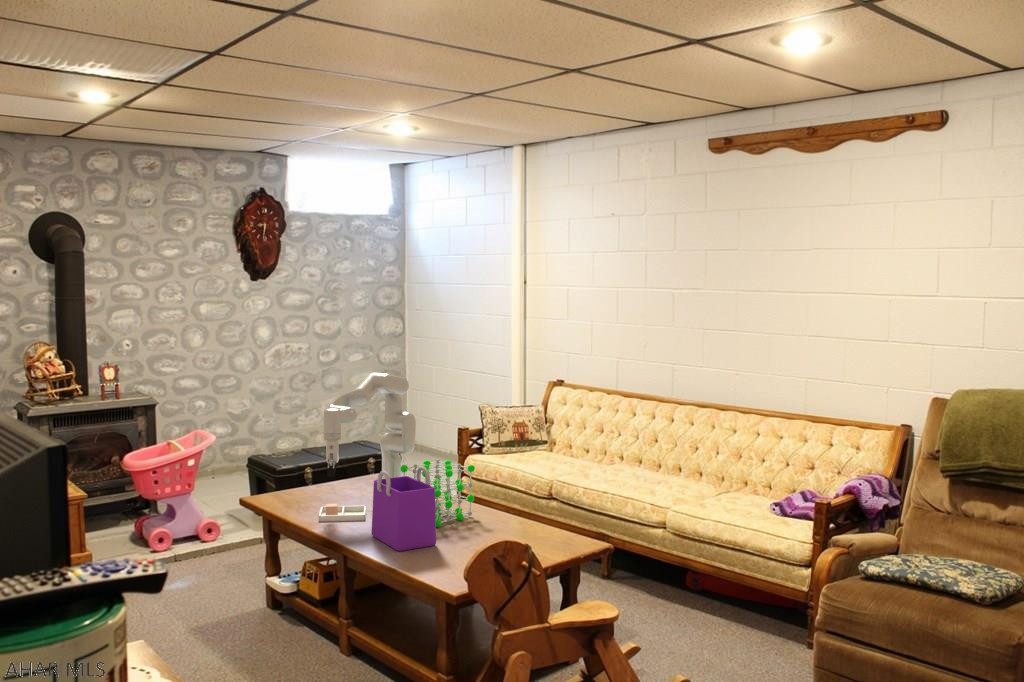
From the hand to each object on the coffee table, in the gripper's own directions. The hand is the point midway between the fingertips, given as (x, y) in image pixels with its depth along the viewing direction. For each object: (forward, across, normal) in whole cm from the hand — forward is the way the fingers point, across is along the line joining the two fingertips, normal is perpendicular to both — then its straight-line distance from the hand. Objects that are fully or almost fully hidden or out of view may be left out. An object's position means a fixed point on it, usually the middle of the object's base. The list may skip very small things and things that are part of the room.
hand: (331, 474), depth 385 cm
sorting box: (+19, 0, -5) cm, 20 cm away
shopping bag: (+20, -38, -31) cm, 53 cm away
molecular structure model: (+20, -4, -47) cm, 51 cm away
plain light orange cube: (+19, 0, 0) cm, 19 cm away
